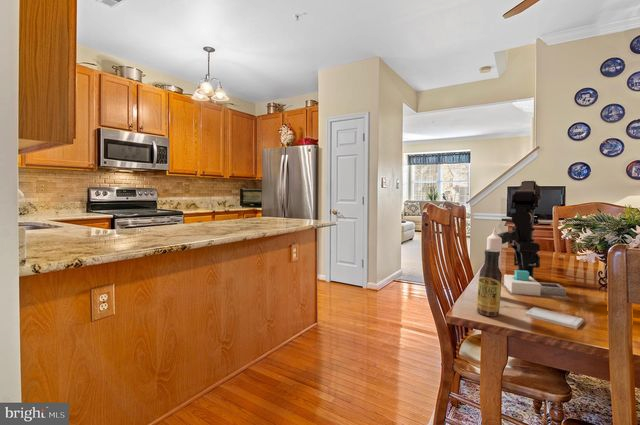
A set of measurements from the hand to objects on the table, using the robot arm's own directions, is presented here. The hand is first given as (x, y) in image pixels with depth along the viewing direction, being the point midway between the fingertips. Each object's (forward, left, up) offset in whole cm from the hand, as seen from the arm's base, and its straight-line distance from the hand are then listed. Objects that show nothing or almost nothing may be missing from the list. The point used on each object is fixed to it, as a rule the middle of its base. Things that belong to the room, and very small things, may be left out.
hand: (521, 266), depth 120 cm
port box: (0, 0, -9) cm, 9 cm away
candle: (+12, -12, -10) cm, 20 cm away
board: (0, +4, -10) cm, 11 cm away
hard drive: (+26, +2, -11) cm, 28 cm away
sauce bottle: (+28, -15, -10) cm, 34 cm away
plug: (0, 0, -9) cm, 9 cm away
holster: (0, +9, -9) cm, 13 cm away
